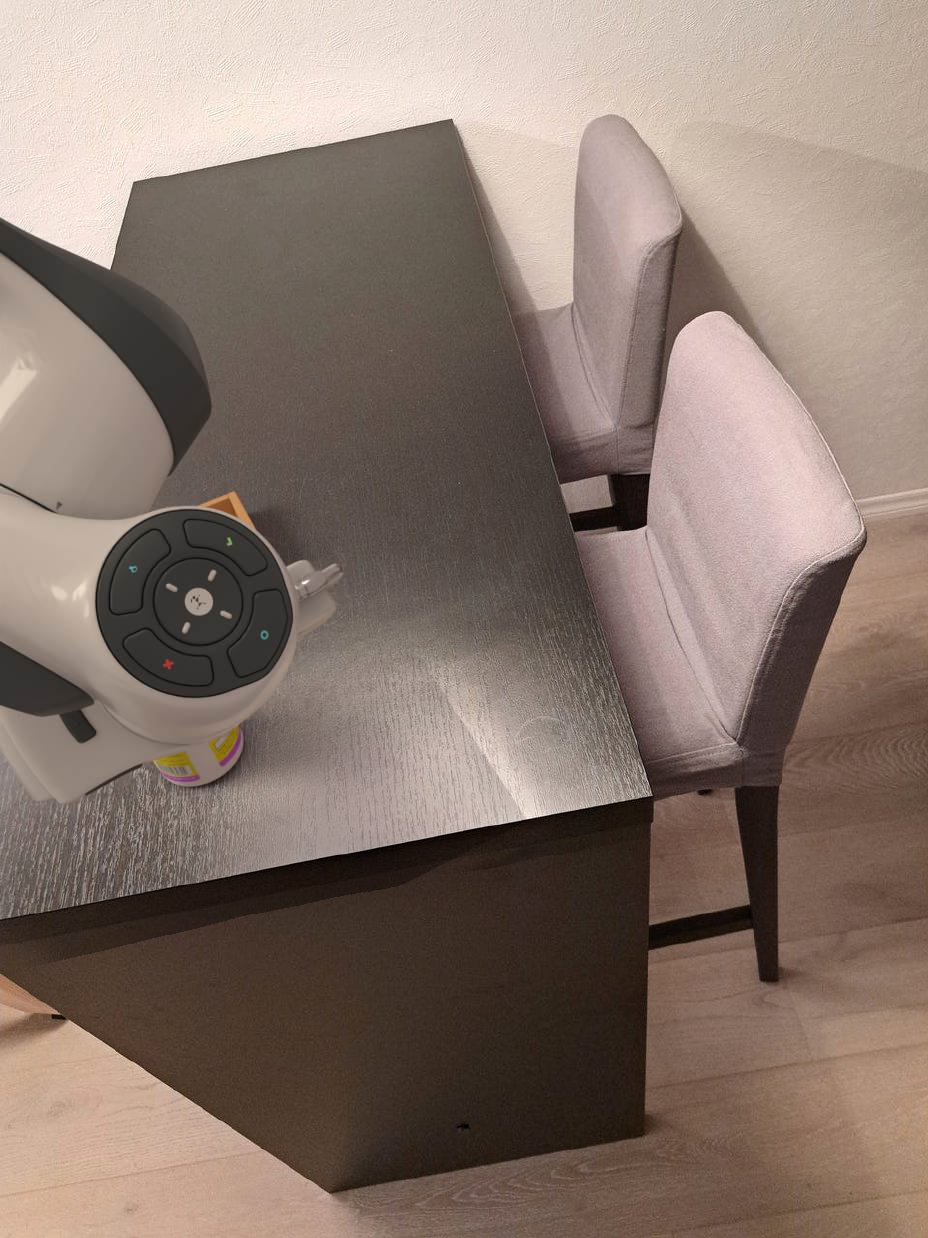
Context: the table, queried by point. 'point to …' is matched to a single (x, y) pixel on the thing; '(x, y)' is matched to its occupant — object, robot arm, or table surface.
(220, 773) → the supplement bottle
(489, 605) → the table surface
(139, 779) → the table surface
